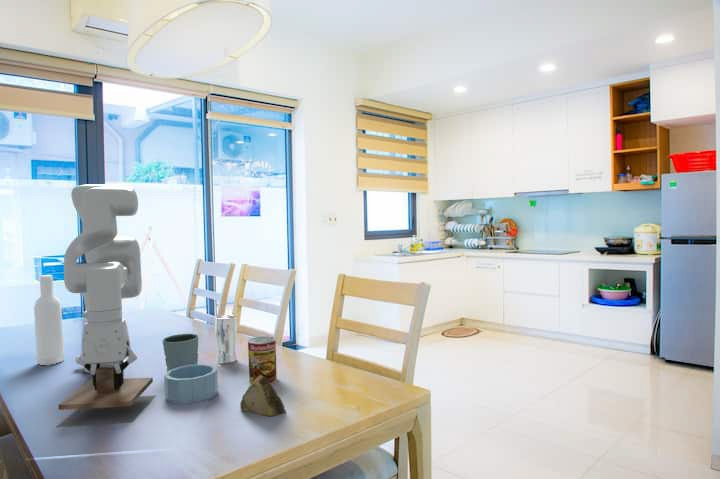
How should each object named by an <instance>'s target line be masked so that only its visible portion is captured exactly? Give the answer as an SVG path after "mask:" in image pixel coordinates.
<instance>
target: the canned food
mask: <svg viewBox="0 0 720 479" xmlns="http://www.w3.org/2000/svg"><path fill="white" fill-rule="evenodd" d="M276 346H277V342H276V338H275V337H273V336H257V337H253V338H249V339H248V340H247V353H248V379H249V380H248V381H249V383H250V385H251V384H252V383H253V382H254V381H255V379H256V378H257V377H258V376H259V375H262V376H264V377H266V379H267V380H268V381H269V382H270V384H273V383H275V382H277V380H278V375H277V374H278V372H277V348H276Z"/></svg>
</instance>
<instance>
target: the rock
mask: <svg viewBox="0 0 720 479" xmlns="http://www.w3.org/2000/svg"><path fill="white" fill-rule="evenodd" d="M240 410H241V411H244V412H249V413H251V414H252V413H253V414H257V415H261V416H266V417H267V416H268V417H274V416H278V415H282V414H284V413H287V410H286V408H285V405H284V403H283V401H282V399H281V397H280V396H279V395H278V393H277V390H276V389H275V388H274V386H273V385H272V383H270V382H269V381H268V380H267V379H266V377H264V376H262V375H259V376H258V377H257V378H256V379H255V381H254V382H253V383H252V384H251V383H250V386H248V388H247V389H246V391H245V393H244V394H243V395H242V399H241V401H240Z"/></svg>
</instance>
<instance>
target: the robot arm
mask: <svg viewBox="0 0 720 479" xmlns="http://www.w3.org/2000/svg"><path fill="white" fill-rule="evenodd" d="M70 195H71V202H72V204H73V207H74V209H75V211H76V213H77V214H78V216H79V218H80V221H81V224H82V225H81V227H82V232H81V233H80V234H78V235H77V236H76V237H75V238H74V239H73V240H72V241H71V243H69V245H68V247H67V248H66V250H65V254H64V257H63V283H64V286H65V289H66V290H67V291H68V292H70V293H71V294H82V296H83V302H84V307H85V311H82V313H81V316H82V318H86V321H85V322H84V324H83V330H82V337H81V354H80V355H77V356H76V357H75V362H76V364H79V366H82V369H83V372H84V373H88V374H90V375H92V380H93V386H95V391H97V385H96V369H97V368H99V367H100V366H101V365H103V364H114V366H115V370H116V373H115V374H114V385H115V390H117V389H119V388H120V387H121V386H122V384H123V383H124V379H125V378H124V370H125V369H126V368H127V367H128V366H129V365H131V364H132V363H134V362H135V361H136V360H137V359H138V356H137V355H136V354H135V352H134V351H133V350H132V349H131V341H130V336H129V329H128V325H127V322H126V321H127V320H126V319H125V318H123V306H122V305H123V304H122V301H123V300H124V299H133V298H136V297H138V296H140V295H141V292H142V288H143V287H142V286H143V282H142V281H143V280H142V264H141V263H142V260H141V250H140V244H139V242H138V240H137V239H136V238H134V237H132V236H131V237H130V236H119V237H118V224H117V217H132V216H135V215H136V214H137V213H138V209H139V198H138V195H137V192H136V190H135V189H134V188H133V187H132V185H127V184H81V185H76V186H74V187H73V188H72V189H71V194H70ZM83 255H84V257H85V261H86V263H77V261H78V260H79V258H80V257H82V256H83ZM127 357H128V358H127ZM126 358H127V359H126Z"/></svg>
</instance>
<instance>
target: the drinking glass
mask: <svg viewBox="0 0 720 479" xmlns="http://www.w3.org/2000/svg"><path fill="white" fill-rule="evenodd" d="M162 346H163V351H164V352H163V353H164V356H165V358H164V359H165V366H166V373H167V372H168V371H169V370H172V369H175V368H177V367H182V366H187V365H196V364H198V362H199V358H198V357H199V352H198V350H199V335H198V334H197V333H196V334H195V333H180V334H173V335H170V336H167V337H164V338H163V339H162Z"/></svg>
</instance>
